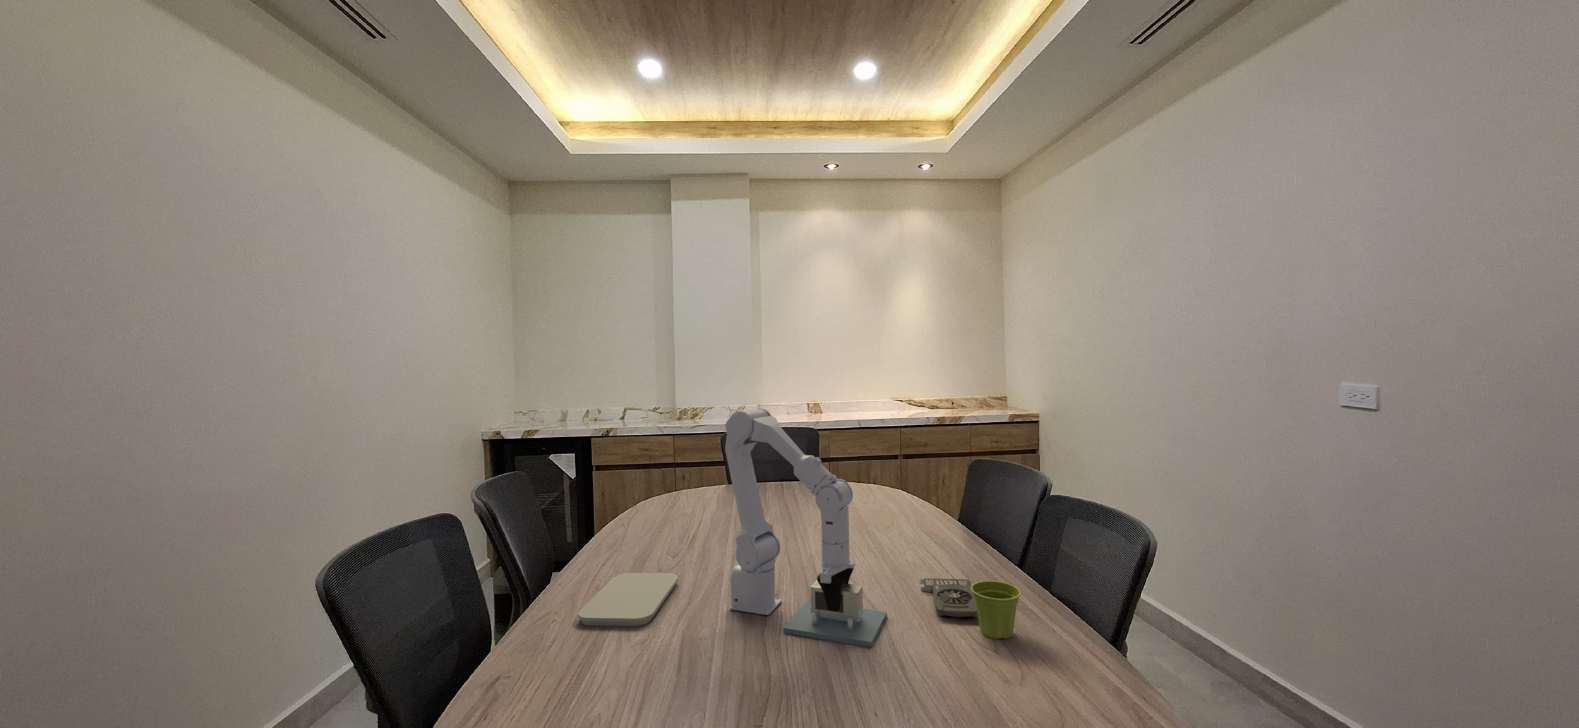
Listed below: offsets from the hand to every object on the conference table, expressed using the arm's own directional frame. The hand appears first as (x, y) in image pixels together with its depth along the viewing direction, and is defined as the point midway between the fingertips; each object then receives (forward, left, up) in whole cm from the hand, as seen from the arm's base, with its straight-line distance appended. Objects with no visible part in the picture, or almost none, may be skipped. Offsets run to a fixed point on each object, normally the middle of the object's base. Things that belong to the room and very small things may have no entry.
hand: (836, 605), depth 120 cm
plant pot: (+31, +7, -4) cm, 32 cm away
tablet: (-48, -4, -5) cm, 48 cm away
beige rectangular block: (0, 0, -2) cm, 2 cm away
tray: (0, 0, -4) cm, 4 cm away
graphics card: (+21, +18, -5) cm, 28 cm away
